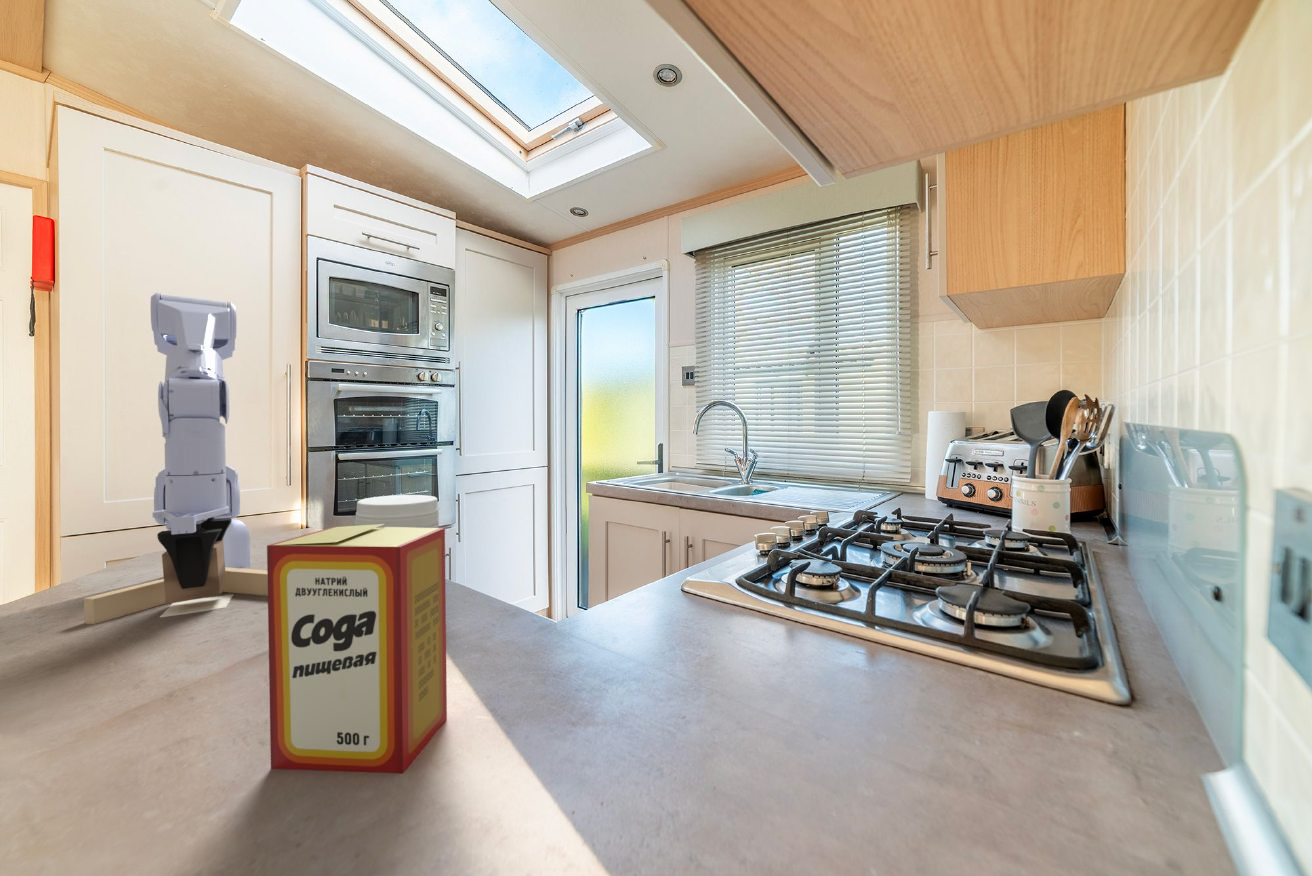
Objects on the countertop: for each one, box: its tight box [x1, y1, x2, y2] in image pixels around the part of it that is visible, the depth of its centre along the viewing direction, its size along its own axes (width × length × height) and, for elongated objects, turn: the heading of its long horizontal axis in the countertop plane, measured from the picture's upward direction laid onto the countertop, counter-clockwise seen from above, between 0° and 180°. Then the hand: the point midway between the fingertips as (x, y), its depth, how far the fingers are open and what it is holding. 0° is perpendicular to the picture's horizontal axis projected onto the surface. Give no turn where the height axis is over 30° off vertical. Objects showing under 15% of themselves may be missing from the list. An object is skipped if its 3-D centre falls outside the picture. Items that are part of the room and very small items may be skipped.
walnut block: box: [161, 540, 226, 605], centre depth 65 cm, size 5×5×6 cm
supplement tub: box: [354, 494, 440, 528], centre depth 66 cm, size 10×10×15 cm
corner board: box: [83, 567, 268, 625], centre depth 64 cm, size 14×19×4 cm
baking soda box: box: [266, 524, 448, 774], centre depth 39 cm, size 10×6×16 cm
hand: (198, 581), depth 65 cm, fingers closed on walnut block, 5 cm apart
